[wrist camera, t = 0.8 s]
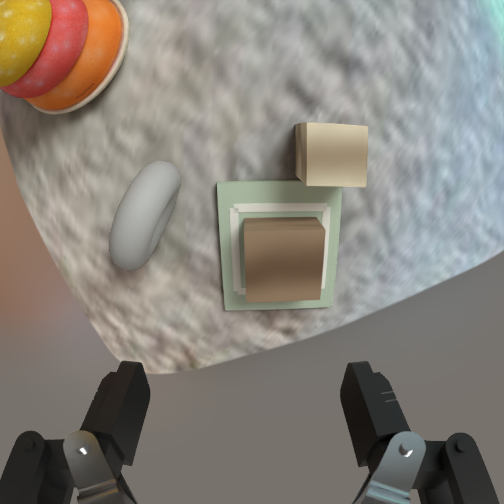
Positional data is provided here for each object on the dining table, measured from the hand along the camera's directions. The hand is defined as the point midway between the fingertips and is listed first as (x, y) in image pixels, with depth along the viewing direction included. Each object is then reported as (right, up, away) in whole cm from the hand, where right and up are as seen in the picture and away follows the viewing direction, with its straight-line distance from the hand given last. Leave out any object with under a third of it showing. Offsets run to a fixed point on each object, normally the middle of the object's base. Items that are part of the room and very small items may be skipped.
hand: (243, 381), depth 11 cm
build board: (+3, +5, +21) cm, 22 cm away
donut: (-9, +10, +19) cm, 23 cm away
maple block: (+7, +15, +17) cm, 24 cm away
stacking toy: (-18, +26, +12) cm, 34 cm away
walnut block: (+3, +5, +20) cm, 21 cm away
